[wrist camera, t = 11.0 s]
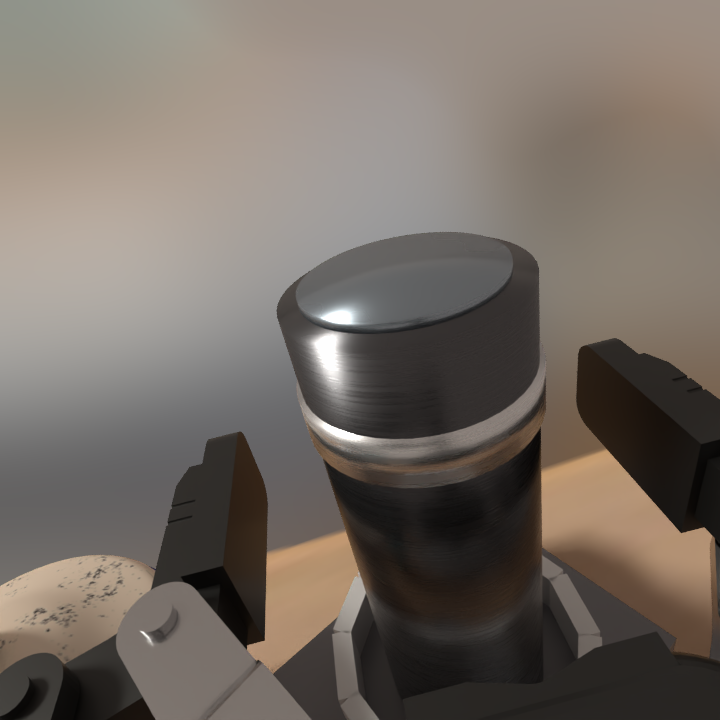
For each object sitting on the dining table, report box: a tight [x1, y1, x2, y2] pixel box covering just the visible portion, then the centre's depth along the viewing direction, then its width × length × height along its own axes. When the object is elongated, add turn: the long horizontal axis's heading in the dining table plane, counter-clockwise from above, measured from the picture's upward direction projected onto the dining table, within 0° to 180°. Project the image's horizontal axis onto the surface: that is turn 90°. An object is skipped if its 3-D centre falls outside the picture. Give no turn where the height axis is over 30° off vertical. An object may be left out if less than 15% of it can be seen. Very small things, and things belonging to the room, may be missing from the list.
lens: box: [277, 232, 546, 702], centre depth 12 cm, size 5×5×13 cm
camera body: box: [273, 548, 676, 720], centre depth 16 cm, size 10×8×6 cm
